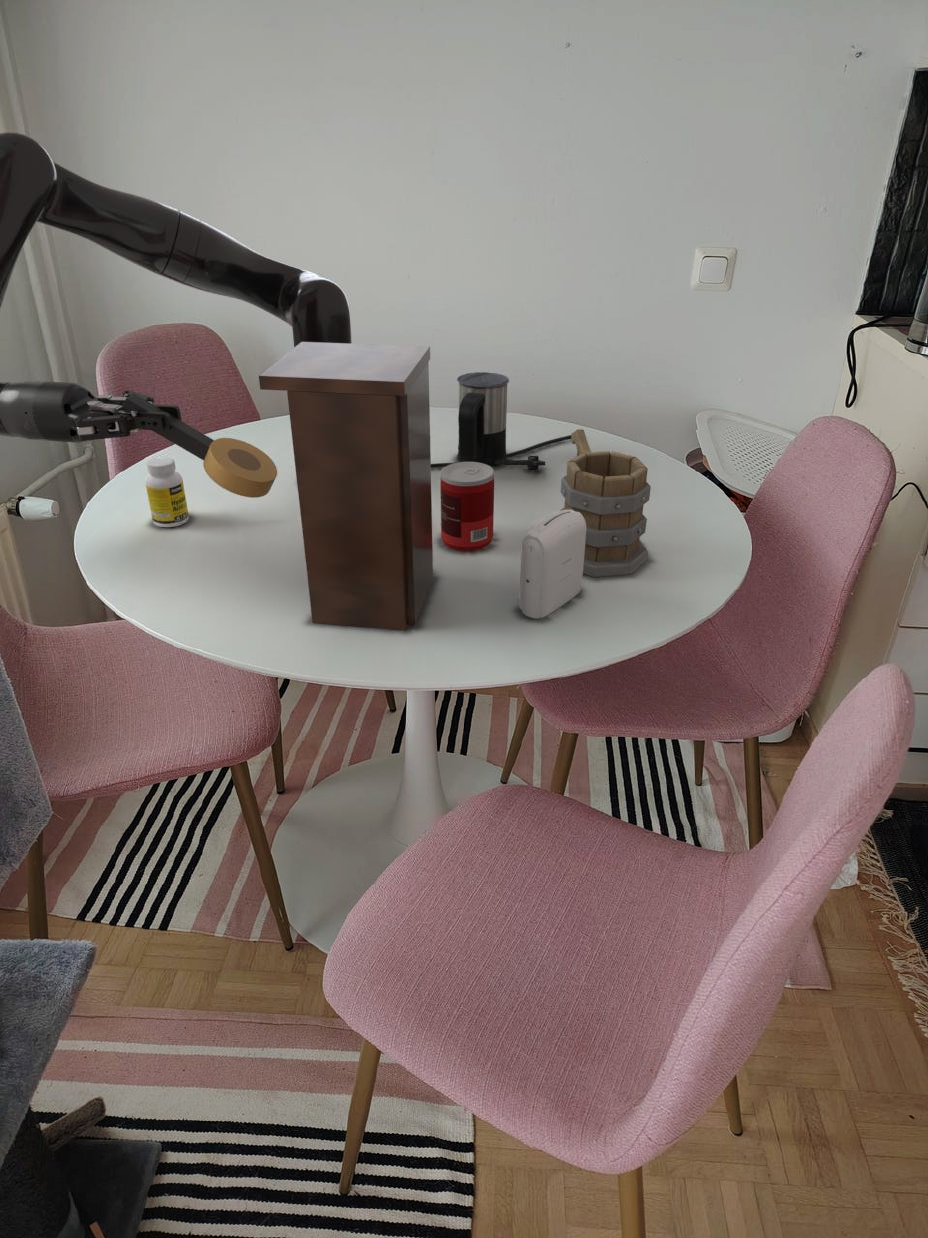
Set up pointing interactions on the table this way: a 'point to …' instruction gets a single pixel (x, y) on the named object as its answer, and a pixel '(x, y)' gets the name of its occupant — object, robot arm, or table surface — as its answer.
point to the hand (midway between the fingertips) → (174, 418)
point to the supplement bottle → (166, 493)
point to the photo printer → (552, 563)
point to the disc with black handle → (218, 455)
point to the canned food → (467, 505)
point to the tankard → (608, 507)
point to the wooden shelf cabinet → (361, 477)
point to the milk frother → (485, 421)
